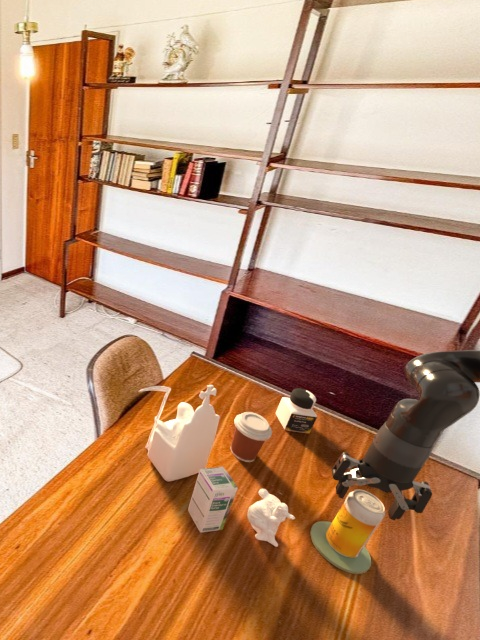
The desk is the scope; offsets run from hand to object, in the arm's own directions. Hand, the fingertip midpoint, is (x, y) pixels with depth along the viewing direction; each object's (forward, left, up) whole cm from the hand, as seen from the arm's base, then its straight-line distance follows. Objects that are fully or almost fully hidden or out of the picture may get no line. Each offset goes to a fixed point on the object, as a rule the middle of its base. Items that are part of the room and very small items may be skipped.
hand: (364, 505), depth 82 cm
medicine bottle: (+9, -38, -15) cm, 42 cm away
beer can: (0, 0, -14) cm, 14 cm away
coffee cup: (+21, -17, -15) cm, 31 cm away
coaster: (0, 0, -14) cm, 14 cm away
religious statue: (+39, -2, -15) cm, 42 cm away
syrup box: (+27, +10, -15) cm, 32 cm away
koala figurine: (+15, +6, -15) cm, 22 cm away
